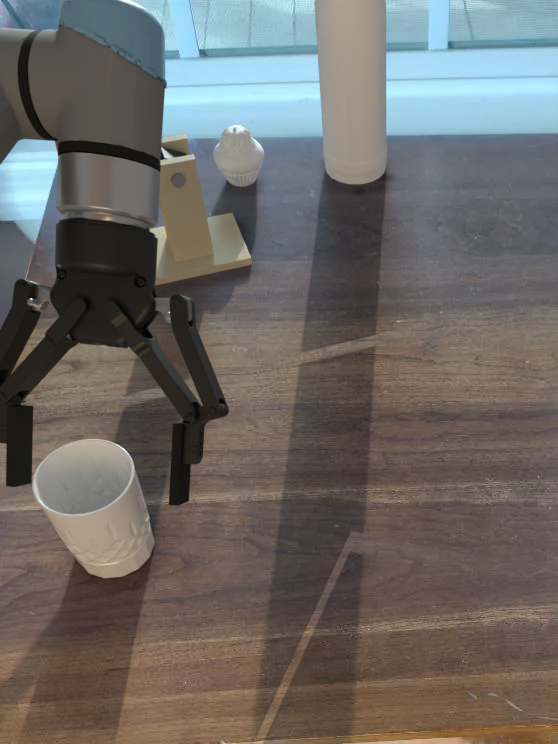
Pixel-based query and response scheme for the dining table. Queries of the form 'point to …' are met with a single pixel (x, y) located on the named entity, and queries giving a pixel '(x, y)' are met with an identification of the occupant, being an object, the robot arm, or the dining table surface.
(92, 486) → the white cup
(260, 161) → the muffin
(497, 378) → the dining table surface
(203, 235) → the bracket
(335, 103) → the bottle
